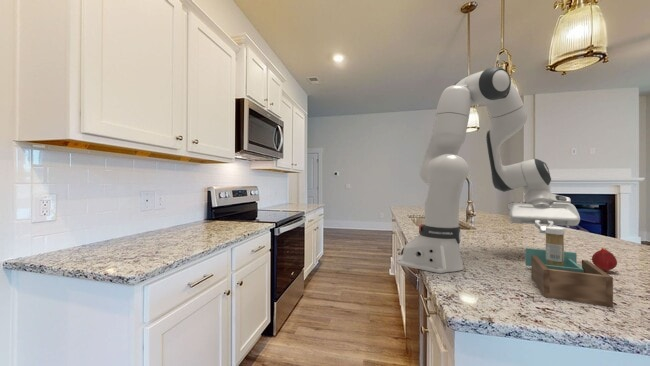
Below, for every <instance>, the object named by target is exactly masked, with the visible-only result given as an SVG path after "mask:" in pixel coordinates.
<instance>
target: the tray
mask: <svg viewBox="0 0 650 366" xmlns="http://www.w3.org/2000/svg"><path fill="white" fill-rule="evenodd" d="M532 255H536V256H537V257H538V258H539V259H540V260H541V261H542V262H543V263H544V265H545V266H546V267H547V268H548V269H555V270H563V271H572V272H581V273H584V269H583V268H582V266H580V265H578V263H577V259H578V258H577V257H578V256H577V252H575V251H565V250H564V267H561V266H552V265H546V249H543V248H532V247H530V248H529V247H525V266H527V267H528V266H529V267H532Z"/></svg>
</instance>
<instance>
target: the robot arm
mask: <svg viewBox="0 0 650 366" xmlns="http://www.w3.org/2000/svg"><path fill="white" fill-rule="evenodd" d="M511 80H512V79H511V75H510V73H509V72H508V71H507V70H506V69H505V68H504V67H501V66H494V67H493V66H492V67H489V68H488V67H487V68H486V69H484V70H481V71H477V72H475V73H472V74H469V75H468V76H466V77H464V78H462V79H460V80H457V81H456V82H455V83H453V84H452V85H450V86H448V87H446V88H445V89H444V90H443V91H442V93H441V95H440V97H439V100H438V103H437V106H436V110H435V114H434V120H433V125H432V129H431V134H430V135H431V136H430V139H429V142H428V145H427V148H426V151H425V154H424V157H423V161H422V163H421V166H420V168H419V176H420V179H421V180H422V181H423V182H424V183H425V184H427V185H428V192H427V196H426V199H425V202H424V223H421V224H420V225H419V227H418V235H417V236H415V237H414V238H413V239H411V240H409V241H408V242H407V243H406V244H405V245H404V247H403V251H402V254H400V255H399V256H398V257H397V258H396V264H397V265H398V266H403V267H405V268H406V267H407V268H412V269H416V270H417V269H418V270H422V271H426V272H432V273H436V274H444V273H449V272H450V273H451V272H452V273H453V272H460V271H462V270H464V269H465V267H464V262H463V260H462V259H463V258H462V255H461V247H460V243H461V226H459V225H460V223H459V222H460V221H459V219H460V218H459V216H460V214H459V213H460V210H459V209H460V200H461V194H462V191H463V186H464V182H465V180H466V179H467V177H468V175H469V172H470V171H469V170H470V169H469V164H468V163H467V161H466V160H465V159H464V157H461V156H459V155H458V154H459V151H460V149H461V148H462V146H463V144H464V142H465V140H466V134H467V130H468V124H469V120H470V119H469V118H470V114H471V107H472V106H473V107H474V106H477V105H478V106H479V105H484V106H485V107H486V109H487V113H488V116H489V119H490V129H489V130H488V131H487V132H486V146H487V152H488V153H487V154H488V159H489V164H490V165H489V166H490V172H491V183H492V185H493V187H494V188H495V189H496V190H498V191H501V192H503V193H505V192H509V191H512V190H514V189H521V188H522V192H523V194H524V196H523V198H524V201H511V202H509V203H508V204H507V210H508V211H509V217H508V218H509V222H511V223H512V224H527V225H528V224H533V225H534V227H536V229H538V230H539V234H546V233H545V227H554V226H567V227H568V226H570V227H571V226H572V227H577V226H578V225H579V224H580V222H581V217H580V214H579V211H578V209H577V208H576V206H575V204H572V203H571V198H570V197H568V196H564V195H559V194H557V193H556V194H555V193H552V191H551V185H550V184H551V182H552V177H551V173H550V169H549V167H548V164H547V163H546V162H544V161H542V160H541V159H538V158H532V159H528V160H524V161H520V162H518V163H512V164H509V165H503V161H502V156H501V149H500V148H501V145H502V144H503V143H504V142H506V141H507V140H509V139H510V138H511V137H513V136H514V135H515V134H517V133H518V132H520V130H521V129H522V128H523V127H524V126H525V124H526V123H527V119H528V117H527V110H526V108H525V104H524V102H523V100H522V97H521V96H520V94H519V92H518V90H517V88H516V87H515V85H514V84H513V83H512V81H511ZM543 225H546V226H543Z"/></svg>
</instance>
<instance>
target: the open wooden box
mask: <svg viewBox="0 0 650 366" xmlns="http://www.w3.org/2000/svg"><path fill="white" fill-rule="evenodd" d="M581 268H583V269H584V273H581V272H572V271H563V270H555V269H548V268H547V267H546V266H545V265H544V263H543V262H542V261H541V260H540V259H539V258H538V257H537V256H536V255H532V266H531V279H532V281H533V282H534V283H535V285H536V287H537V289H538V291H539V292H540V293H541V295H542V296H543V298H544V297H546V298H552V299H558V300H564V301H570V302H576V303H577V302H578V303H582V304H583V303H584V304H589V303H591V305H596V304H597V305H596V306H602V305H603V307H611V308H613V307H614V278H613V276H611V275H610V274H609V273H607V272H604V271H602V270H601V269H599V268H598V267H597V266H595V265H594V264H593V262H592V261H591V262H590V261H589V260H587V259H581Z"/></svg>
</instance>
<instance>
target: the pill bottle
mask: <svg viewBox="0 0 650 366" xmlns="http://www.w3.org/2000/svg"><path fill="white" fill-rule="evenodd" d="M544 227H545V233H544V234H545V250H546V265H552V266H561V267H564V251H565V250H564V248H565V245H564V244H565V243H564V242H565V239H564V236H565V228H564V227H558V226H552V227H548V226H544Z"/></svg>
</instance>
